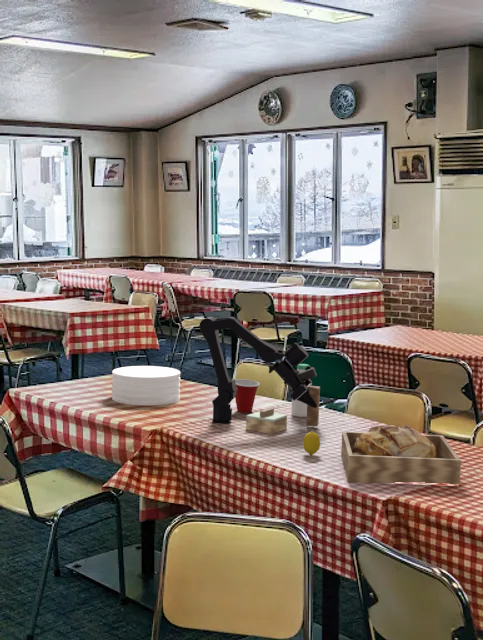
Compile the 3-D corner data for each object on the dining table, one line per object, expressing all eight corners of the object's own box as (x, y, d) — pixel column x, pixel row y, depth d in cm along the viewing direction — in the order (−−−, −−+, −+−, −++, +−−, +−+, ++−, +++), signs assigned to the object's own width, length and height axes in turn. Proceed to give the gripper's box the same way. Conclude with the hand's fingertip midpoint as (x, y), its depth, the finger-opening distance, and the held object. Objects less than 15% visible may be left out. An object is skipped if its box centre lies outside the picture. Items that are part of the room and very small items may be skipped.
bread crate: (347, 482, 270) (348, 455, 269) (341, 455, 300) (342, 431, 299) (459, 487, 268) (461, 460, 268) (441, 459, 299) (443, 435, 298)
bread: (345, 462, 299) (343, 416, 297) (430, 458, 297) (429, 413, 296) (351, 485, 274) (349, 436, 272) (444, 481, 273) (443, 432, 271)
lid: (246, 417, 332) (246, 409, 332) (260, 413, 340) (261, 405, 340) (272, 422, 326) (273, 414, 326) (286, 417, 335) (287, 409, 334)
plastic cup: (247, 415, 355) (248, 385, 354) (225, 411, 362) (226, 381, 360) (264, 411, 364) (265, 381, 362) (242, 407, 370) (243, 377, 369)
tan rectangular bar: (306, 425, 336) (308, 387, 335) (307, 423, 340) (309, 385, 339) (317, 426, 336) (319, 388, 334) (318, 424, 340) (320, 386, 338)
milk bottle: (309, 418, 354) (311, 366, 352) (289, 416, 356) (291, 365, 354) (312, 414, 362) (314, 363, 360) (292, 412, 363) (294, 362, 361)
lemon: (301, 453, 302) (302, 429, 301) (318, 453, 302) (319, 429, 301) (303, 457, 296) (304, 433, 295) (320, 457, 297) (321, 433, 296)
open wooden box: (246, 429, 332) (246, 417, 332) (260, 424, 341) (260, 413, 340) (272, 434, 327) (272, 422, 326) (286, 428, 335) (286, 417, 335)
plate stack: (193, 398, 387) (193, 371, 385) (151, 408, 363) (152, 380, 362) (140, 389, 402) (141, 363, 400) (97, 399, 378) (98, 371, 377)
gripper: (301, 363, 327) (331, 396, 326) (307, 356, 345) (335, 387, 344) (278, 384, 329) (307, 416, 328) (285, 375, 347) (313, 406, 347)
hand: (316, 406), depth 337 cm, fingers closed on tan rectangular bar, 4 cm apart
